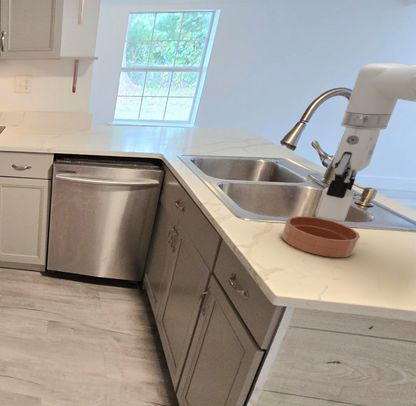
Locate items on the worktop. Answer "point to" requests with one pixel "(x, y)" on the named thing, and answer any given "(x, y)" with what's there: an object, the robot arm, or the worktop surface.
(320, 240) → the bowl
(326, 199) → the eye dropper bottle
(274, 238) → the worktop surface
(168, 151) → the worktop surface
